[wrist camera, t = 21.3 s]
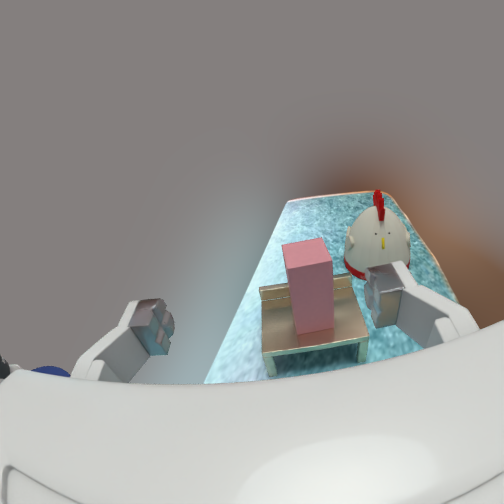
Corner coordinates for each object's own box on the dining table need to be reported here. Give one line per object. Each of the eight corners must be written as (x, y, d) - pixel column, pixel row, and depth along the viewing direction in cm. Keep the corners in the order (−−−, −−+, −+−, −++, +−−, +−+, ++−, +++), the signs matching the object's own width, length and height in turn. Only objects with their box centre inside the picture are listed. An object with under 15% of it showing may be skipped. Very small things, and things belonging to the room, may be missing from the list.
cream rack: (269, 377, 38) (258, 343, 34) (267, 322, 47) (259, 286, 43) (365, 361, 36) (371, 325, 32) (349, 309, 46) (350, 272, 41)
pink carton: (297, 335, 36) (286, 268, 30) (292, 309, 40) (281, 244, 35) (334, 327, 36) (332, 260, 30) (326, 302, 40) (321, 237, 34)
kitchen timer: (345, 283, 51) (343, 210, 43) (342, 243, 62) (338, 180, 54) (416, 279, 47) (425, 206, 39) (401, 240, 58) (404, 177, 50)
